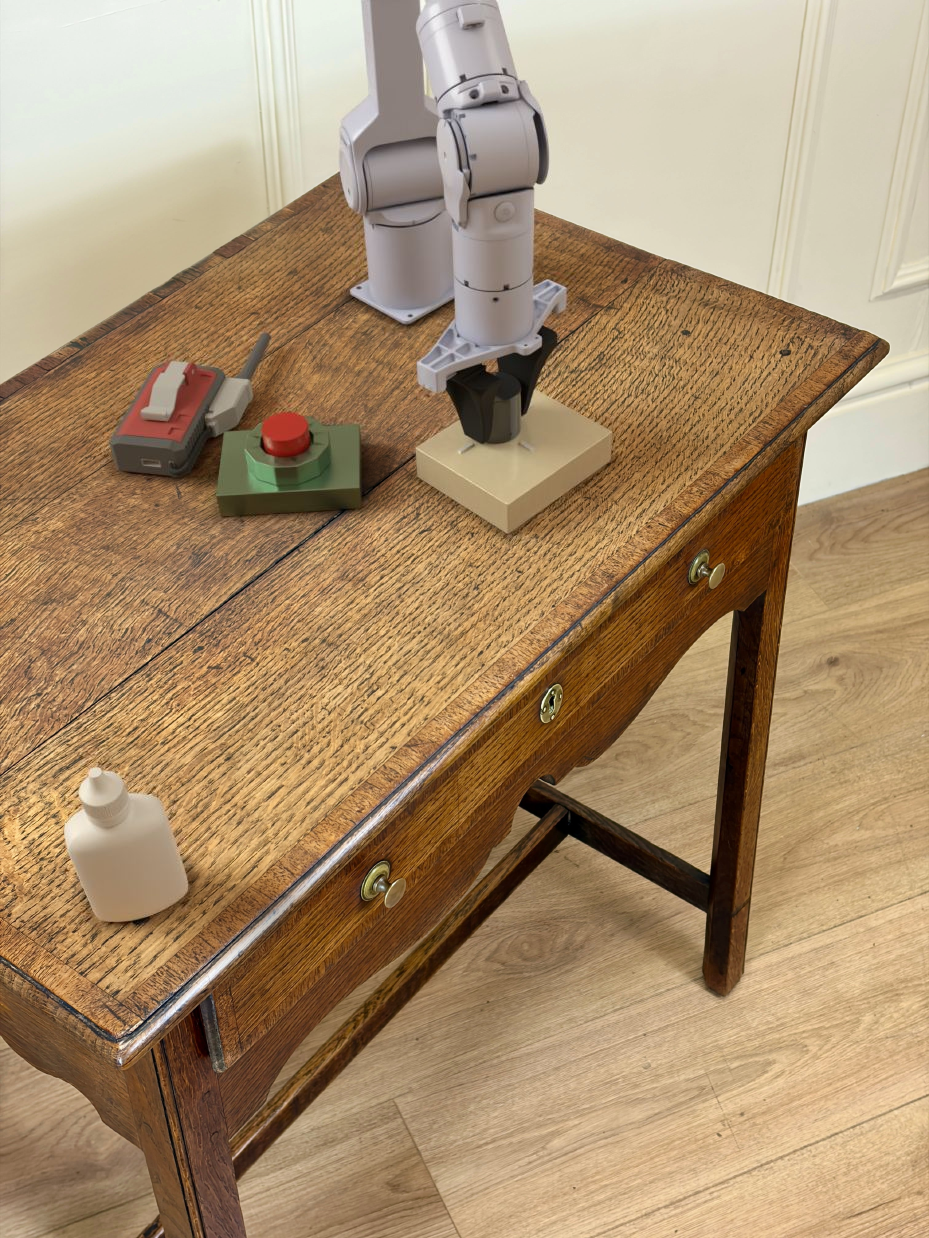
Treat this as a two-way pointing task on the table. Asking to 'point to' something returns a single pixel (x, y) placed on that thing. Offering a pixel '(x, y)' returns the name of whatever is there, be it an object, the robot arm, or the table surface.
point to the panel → (516, 463)
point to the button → (286, 434)
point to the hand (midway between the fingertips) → (495, 423)
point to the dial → (506, 410)
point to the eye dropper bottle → (124, 850)
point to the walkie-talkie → (181, 414)
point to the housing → (291, 473)
